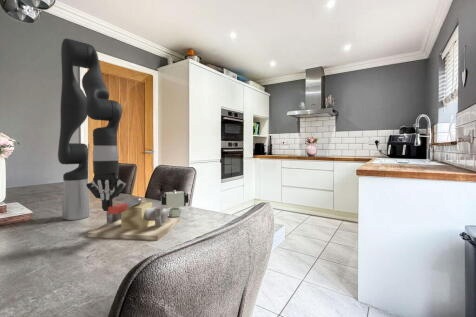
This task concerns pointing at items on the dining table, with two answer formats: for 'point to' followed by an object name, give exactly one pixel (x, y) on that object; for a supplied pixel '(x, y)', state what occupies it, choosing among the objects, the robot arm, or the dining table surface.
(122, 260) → the dining table surface
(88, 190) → the robot arm
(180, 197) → the pneumatic valve
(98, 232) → the valve base
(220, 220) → the dining table surface
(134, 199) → the valve lever
